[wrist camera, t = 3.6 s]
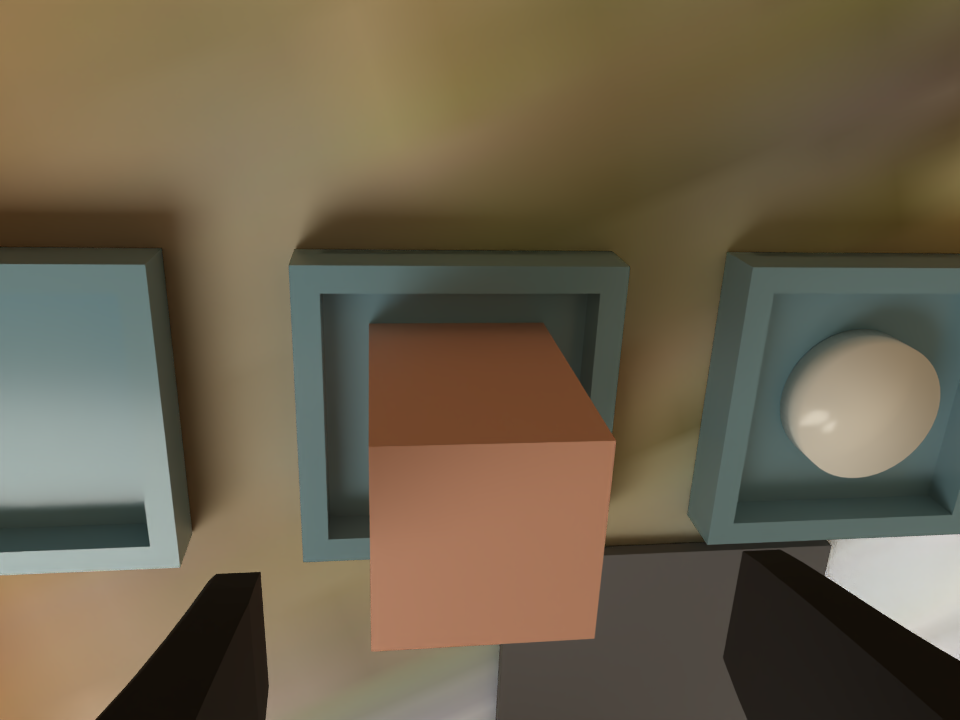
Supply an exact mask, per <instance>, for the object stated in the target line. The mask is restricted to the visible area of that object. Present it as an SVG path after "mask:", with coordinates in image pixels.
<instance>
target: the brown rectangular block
mask: <svg viewBox="0 0 960 720" xmlns="http://www.w3.org/2000/svg"><path fill="white" fill-rule="evenodd" d="M615 447H616V440H615V438H614V436H613V435H612V433H611V432H610V430H609V428H608V427H607V425H606V423H605V422H604V420H603V419H602V417H601V415H600V414H599V412H598V411H597V409H596V407H595V406H594V404H593V402H592V401H591V399H590V398H589V396H588V394H587V393H586V391H585V389H584V388H583V386H582V385H581V383H580V381H579V380H578V378H577V377H576V375H575V373H574V372H573V370H572V368H571V367H570V365H569V364H568V362H567V360H566V359H565V357H564V356H563V354H562V352H561V351H560V349H559V347H558V346H557V344H556V343H555V341H554V339H553V338H552V336H551V335H550V333H549V331H548V330H547V328H546V326H545V325H544V323H377V324H369V513H370V585H371V652H372V651H389V650H407V649H424V648H441V647H459V646H476V645H493V644H510V643H528V642H545V641H562V640H580V639H594V638H595V629H596V620H597V611H598V601H599V592H600V583H601V574H602V565H603V556H604V547H605V538H606V529H607V520H608V511H609V502H610V493H611V484H612V474H613V465H614V456H615Z"/></svg>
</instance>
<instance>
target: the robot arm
mask: <svg viewBox="0 0 960 720" xmlns="http://www.w3.org/2000/svg"><path fill="white" fill-rule="evenodd" d="M723 660H724V662H725V665H726V668H727V670H728V673H729V676H730V678H731V681H732V684H733V686H734V689H735V692H736V694H737V696H738V699H739V701H740V704H741V706H742V709H743V711H744V713H745V716H746V718H747V720H960V661H959V660H958V659H956V658H954V657H952V656H951V655H949V654H947V653H946V652H944V651H942V650H940V649H939V648H937V647H935V646H934V645H932V644H930V643H929V642H927V641H925V640H924V639H922V638H921V637H919V636H917V635H916V634H914V633H912V632H911V631H909V630H908V629H906V628H904V627H903V626H901V625H900V624H898V623H896V622H895V621H893V620H892V619H890V618H889V617H887V616H886V615H884V614H882V613H881V612H879V611H878V610H876V609H875V608H873V607H872V606H870V605H868V604H867V603H865V602H864V601H862V600H861V599H859V598H858V597H856V596H855V595H853V594H851V593H850V592H848V591H847V590H845V589H844V588H842V587H841V586H839V585H838V584H836V583H835V582H833V581H832V580H830V579H828V578H827V577H825V576H824V575H822V574H821V573H819V572H817V571H816V570H814V569H813V568H811V567H810V566H808V565H806V564H805V563H803V562H802V561H800V560H798V559H796V558H795V557H793V556H791V555H790V554H788V553H786V552H784V551H782V550H780V549H778V550H755V551H743V552H742V557H741V563H740V568H739V573H738V579H737V584H736V589H735V595H734V600H733V606H732V611H731V616H730V622H729V627H728V633H727V638H726V643H725V649H724V654H723ZM268 688H269V682H268V669H267V655H266V641H265V628H264V614H263V600H262V587H261V573H260V572H251V573H228V574H216V575H215V576H214V577H213V578H211V579H210V580H209V581H208V583H207V584H206V585H205V587H204V588H203V590H202V591H201V592H200V594H199V595H198V597H197V598H196V599H195V601H194V602H193V603H192V605H191V606H190V608H189V609H188V610H187V612H186V613H185V614H184V616H183V617H182V618H181V620H180V621H179V622H178V623H177V625H176V626H175V627H174V629H173V630H172V631H171V632H170V634H169V635H168V636H167V638H166V639H165V640H164V641H163V643H162V644H161V645H160V646H159V647H158V649H157V650H156V651H155V652H154V653H153V655H152V656H151V657H150V658H149V659H148V661H147V662H146V663H145V664H144V666H143V667H142V668H141V669H140V670H139V672H138V673H137V674H136V675H135V676H134V678H133V679H132V680H131V681H130V682H129V683H128V685H127V686H126V687H125V688H124V689H123V690H122V691H121V692H120V693H119V695H118V696H117V697H116V698H115V699H114V700H113V701H112V702H111V703H110V704H109V705H108V706H107V708H106V709H105V710H104V711H103V712H102V713H101V714H100V715H99V716H98V717H97V718H96V720H265V718H266V708H267V698H268Z"/></svg>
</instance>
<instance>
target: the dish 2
mask: <svg viewBox="0 0 960 720" xmlns="http://www.w3.org/2000/svg"><path fill="white" fill-rule="evenodd" d="M629 272H630V266H629V265H627V264H626V263H625V262H624V261H623V260H622V259H620V258H619V257H618V256H617V255H616V254H615V253H613V252H612V251H496V250H352V249H294V252H293V255H292V258H291V260H290V263H289V281H290V302H291V322H292V342H293V362H294V383H295V403H296V423H297V443H298V463H299V484H300V504H301V524H302V544H303V562H320V561H343V560H367V559H370V513H369V324H377V323H544V325H545V326H546V328H547V330H548V331H549V333H550V335H551V336H552V338H553V339H554V341H555V343H556V344H557V346H558V347H559V349H560V351H561V352H562V354H563V356H564V357H565V359H566V360H567V362H568V364H569V365H570V367H571V368H572V370H573V372H574V373H575V375H576V377H577V378H578V380H579V381H580V383H581V385H582V386H583V388H584V389H585V391H586V393H587V394H588V396H589V398H590V399H591V401H592V402H593V404H594V406H595V407H596V409H597V411H598V412H599V414H600V415H601V417H602V419H603V420H604V422H605V423H606V425H607V427H608V428H609V430H610V432H611V433H612V430H613V421H614V411H615V402H616V393H617V383H618V374H619V365H620V356H621V346H622V337H623V328H624V318H625V309H626V300H627V291H628V281H629Z"/></svg>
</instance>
